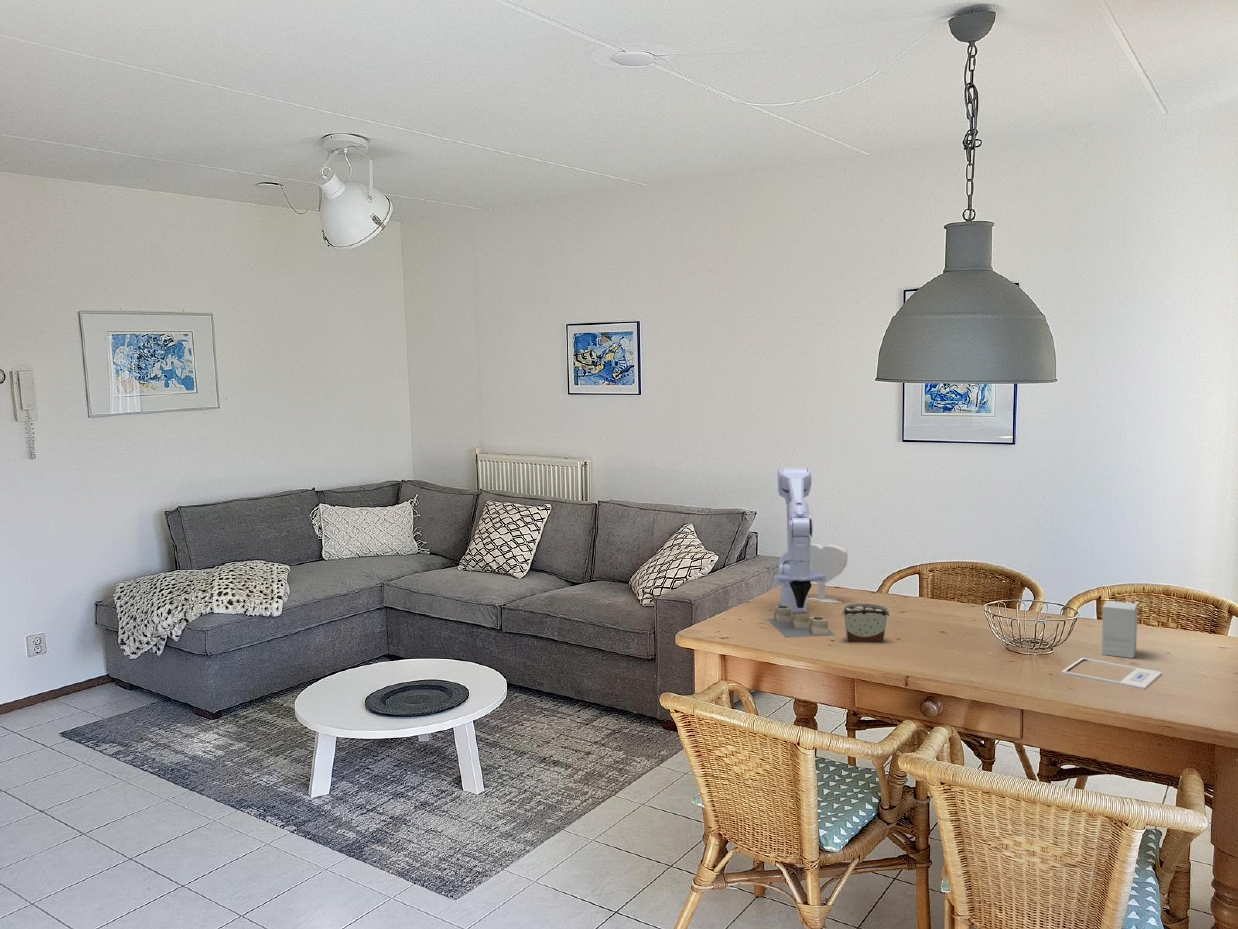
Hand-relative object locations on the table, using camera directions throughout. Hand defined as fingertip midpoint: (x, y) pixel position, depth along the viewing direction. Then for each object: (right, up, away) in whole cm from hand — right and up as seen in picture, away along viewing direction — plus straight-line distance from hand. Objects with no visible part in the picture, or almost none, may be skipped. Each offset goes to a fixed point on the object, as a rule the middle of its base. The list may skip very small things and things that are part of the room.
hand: (800, 607), depth 269 cm
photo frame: (+66, -10, -42) cm, 79 cm away
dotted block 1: (-4, -5, +7) cm, 9 cm away
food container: (+15, -8, -13) cm, 21 cm away
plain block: (0, -6, +1) cm, 6 cm away
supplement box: (+77, -8, -26) cm, 81 cm away
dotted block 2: (+4, -6, -6) cm, 9 cm away
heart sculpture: (+13, -3, +34) cm, 37 cm away
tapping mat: (0, -6, +1) cm, 6 cm away
